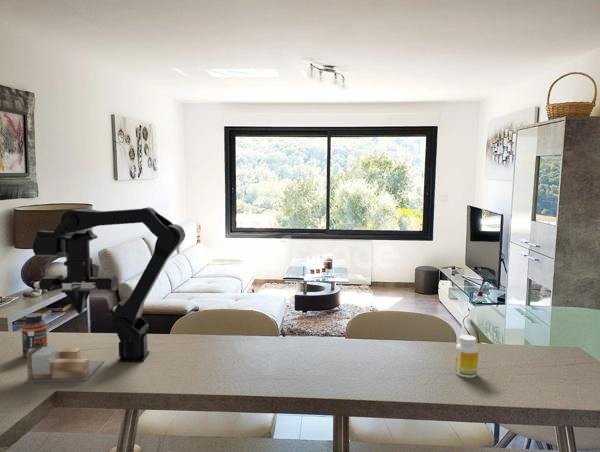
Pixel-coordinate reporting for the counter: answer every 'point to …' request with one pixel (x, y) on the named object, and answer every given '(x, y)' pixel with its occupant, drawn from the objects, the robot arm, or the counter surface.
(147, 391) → the counter surface
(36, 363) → the rough concrete cube
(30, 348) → the supplement bottle
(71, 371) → the block
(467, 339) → the supplement bottle
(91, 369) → the mat
